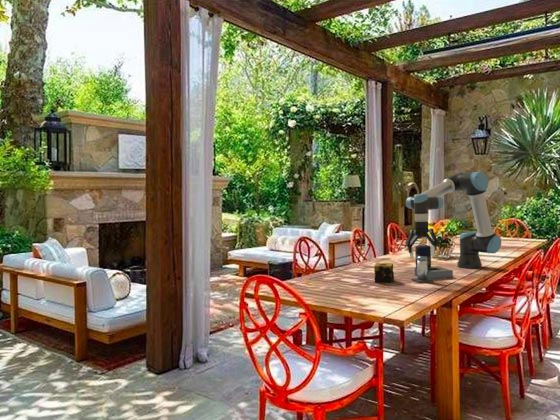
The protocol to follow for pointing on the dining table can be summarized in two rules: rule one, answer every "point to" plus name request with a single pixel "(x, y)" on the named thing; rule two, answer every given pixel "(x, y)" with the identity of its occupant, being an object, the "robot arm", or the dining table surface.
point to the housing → (438, 273)
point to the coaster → (422, 280)
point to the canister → (423, 253)
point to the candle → (384, 272)
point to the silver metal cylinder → (422, 268)
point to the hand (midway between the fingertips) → (422, 257)
